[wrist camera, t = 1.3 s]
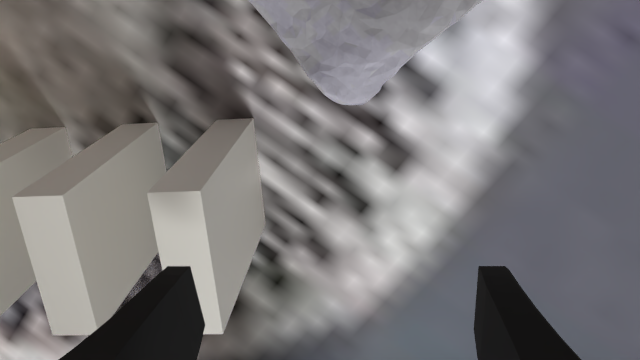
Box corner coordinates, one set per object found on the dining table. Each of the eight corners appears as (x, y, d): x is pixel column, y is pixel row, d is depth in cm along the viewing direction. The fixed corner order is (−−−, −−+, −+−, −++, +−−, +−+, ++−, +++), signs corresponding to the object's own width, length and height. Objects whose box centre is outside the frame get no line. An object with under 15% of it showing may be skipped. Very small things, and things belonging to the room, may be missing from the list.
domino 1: (90, 228, 26) (-21, 335, 18) (58, 229, 26) (-65, 336, 19) (65, 126, 24) (-69, 199, 17) (30, 128, 24) (-118, 201, 17)
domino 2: (176, 226, 25) (98, 335, 18) (143, 227, 26) (52, 335, 18) (157, 122, 24) (62, 195, 16) (122, 124, 24) (11, 197, 16)
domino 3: (265, 224, 25) (223, 334, 18) (231, 225, 25) (175, 334, 18) (253, 118, 23) (200, 191, 16) (216, 119, 23) (146, 192, 16)
